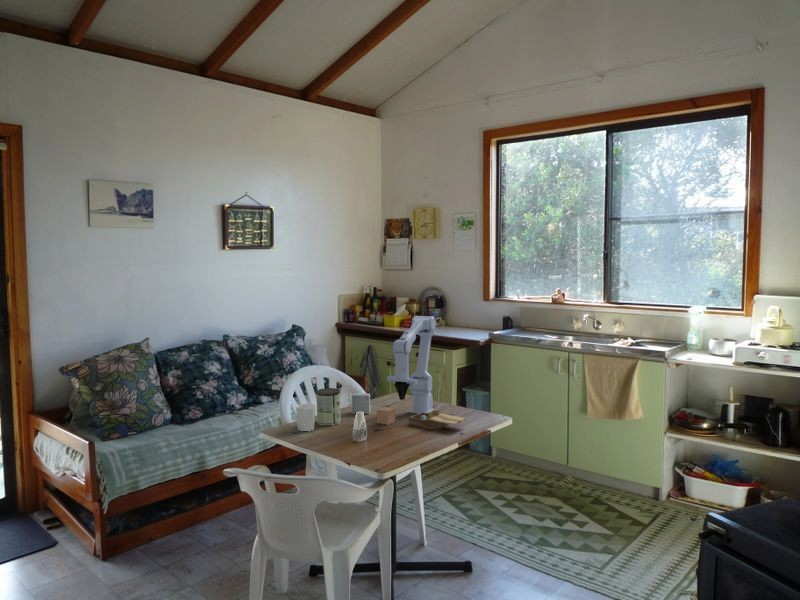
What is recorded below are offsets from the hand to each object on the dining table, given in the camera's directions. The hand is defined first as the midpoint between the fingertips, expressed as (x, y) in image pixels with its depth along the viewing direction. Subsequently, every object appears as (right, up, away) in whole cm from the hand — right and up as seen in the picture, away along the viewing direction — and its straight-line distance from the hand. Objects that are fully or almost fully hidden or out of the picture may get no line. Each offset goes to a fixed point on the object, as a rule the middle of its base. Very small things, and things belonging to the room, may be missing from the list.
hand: (402, 399), depth 264 cm
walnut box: (+11, -11, -2) cm, 15 cm away
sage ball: (+9, -11, -3) cm, 15 cm away
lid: (+18, -7, -7) cm, 21 cm away
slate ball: (+9, -10, +2) cm, 14 cm away
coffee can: (-32, -11, +3) cm, 34 cm away
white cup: (-40, -12, -7) cm, 42 cm away
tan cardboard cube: (-7, -10, +2) cm, 13 cm away
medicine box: (-19, -9, +18) cm, 28 cm away
